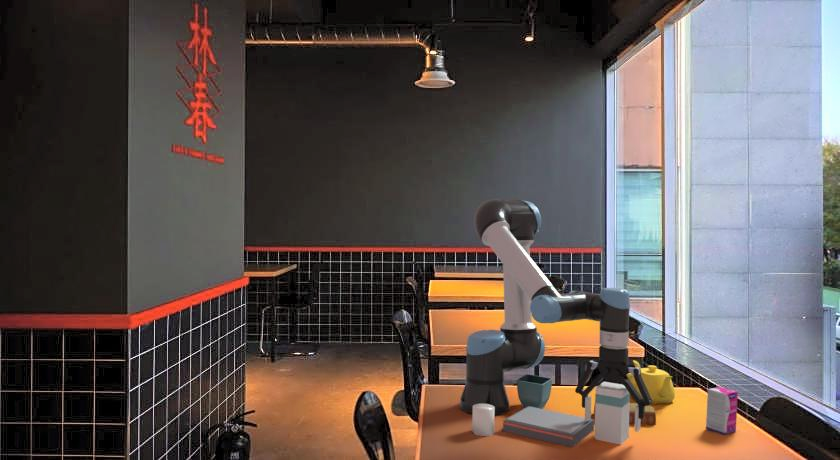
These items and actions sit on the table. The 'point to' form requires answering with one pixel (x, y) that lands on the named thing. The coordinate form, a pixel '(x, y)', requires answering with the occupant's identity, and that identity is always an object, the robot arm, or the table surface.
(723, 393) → the supplement box
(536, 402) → the flower pot
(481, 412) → the white rounded capsule
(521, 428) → the podium
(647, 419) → the carton
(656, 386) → the teapot
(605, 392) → the carton
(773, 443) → the table surface
